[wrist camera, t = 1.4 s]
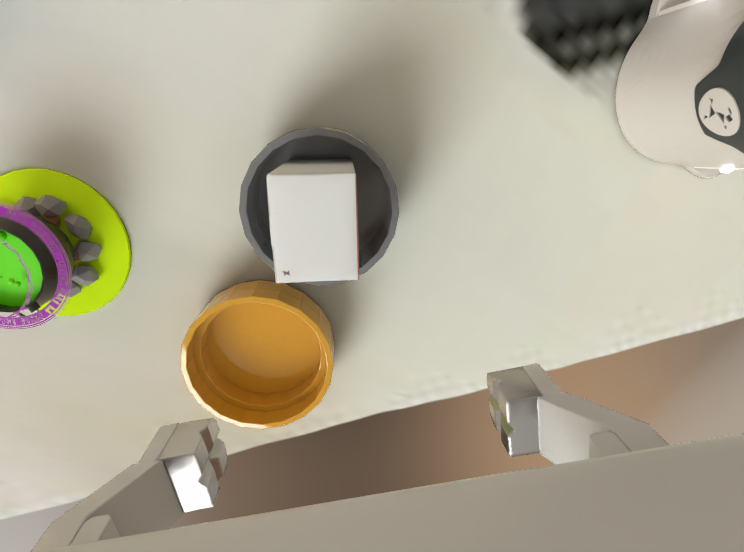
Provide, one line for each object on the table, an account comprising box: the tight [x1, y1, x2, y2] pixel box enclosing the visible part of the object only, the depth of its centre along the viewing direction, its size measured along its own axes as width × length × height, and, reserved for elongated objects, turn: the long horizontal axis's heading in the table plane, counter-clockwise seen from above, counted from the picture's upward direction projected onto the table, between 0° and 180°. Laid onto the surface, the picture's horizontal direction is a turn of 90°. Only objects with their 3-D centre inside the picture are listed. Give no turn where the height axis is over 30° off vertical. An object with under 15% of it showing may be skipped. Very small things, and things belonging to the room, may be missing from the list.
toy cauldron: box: [0, 168, 131, 329], centre depth 39 cm, size 15×15×11 cm
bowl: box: [180, 280, 334, 429], centre depth 47 cm, size 15×15×5 cm
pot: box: [239, 127, 399, 286], centre depth 42 cm, size 14×14×6 cm
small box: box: [266, 159, 359, 283], centre depth 38 cm, size 8×6×13 cm
